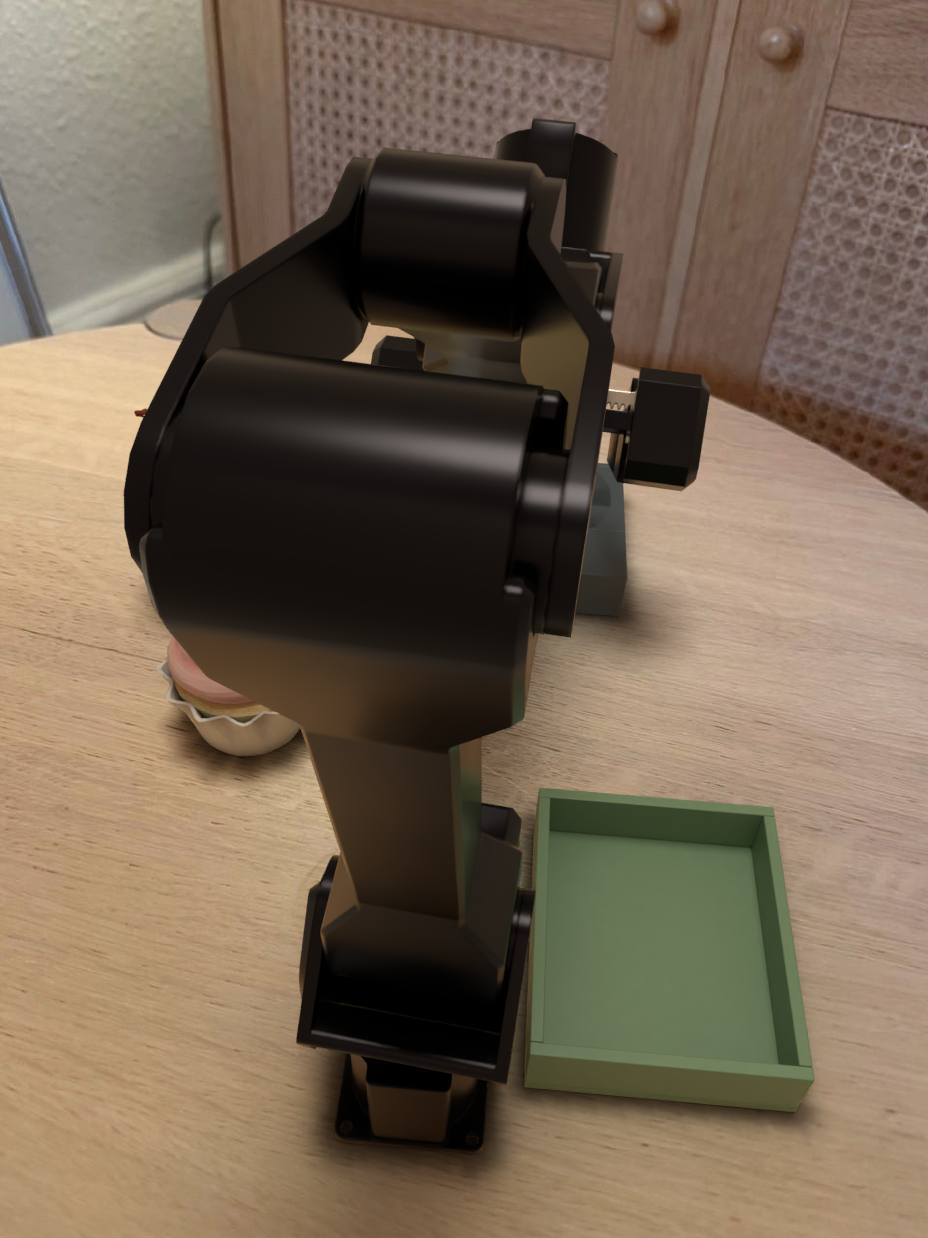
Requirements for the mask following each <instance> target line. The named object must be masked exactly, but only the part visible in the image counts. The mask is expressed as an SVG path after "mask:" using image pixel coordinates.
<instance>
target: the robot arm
mask: <svg viewBox="0 0 928 1238" xmlns="http://www.w3.org/2000/svg"><path fill="white" fill-rule="evenodd" d="M493 157H494V158H489V157H479V156H470V155H461V154H450V153H441V152H432V151H424V150H423V151H421V150H412V149H404V148H394V147H383V148H382V149H381V150H380V151H379V152H377V154H376V155H375V156H374V157H372V158H370V157H361V156H352V158H351V159H350V161H349V162H348V163H347V165H346V167H345V168H344V171H343V173H342V175H341V178H340V179H339V182H338V184H337V187H336V189H335V191H334V193H333V197H332V199H331V200H330V203H329V205H328V208H327V210H326V211H325V212H324V214H322V215H320V216H319V217H317V218H316V219H315V220H313V221H312V222H310V223H309V224H307V225H306V226H304V227H302V228H300V229H299V230H298V231H296V232H295V233H293V234H292V235H290V236H288V237H287V238H285V239H284V240H283V241H281V242H279V243H278V244H276V245H275V246H273V247H272V248H270V249H269V250H267V251H266V252H264V253H262V254H261V255H259V256H258V257H256V258H255V259H253V260H251V261H250V262H249V263H247V264H245V265H244V266H242V267H241V268H239V269H237V270H236V271H235V272H233V273H231V274H230V275H228V276H227V277H225V278H223V279H222V280H221V281H219V282H217V283H216V284H215V285H213V286H212V288H211V289H209V291H207V293H206V294H205V295H204V296H203V297H202V300H201V302H200V304H199V305H198V307H197V310H196V312H195V313H194V315H193V317H192V320H191V322H190V324H189V325H188V327H187V330H186V332H185V334H184V335H183V338H182V339H181V341H180V344H179V346H178V347H177V349H176V352H175V353H174V356H173V357H172V360H171V361H170V364H169V366H168V367H167V369H166V371H165V373H164V375H163V378H162V379H161V381H160V384H159V386H158V387H157V389H156V391H155V393H154V395H153V398H152V399H151V401H150V403H149V406H148V407H147V408H146V409H147V411H146V413H145V415H143V416H144V417H142V419H141V420H140V424H139V427H138V429H137V432H136V435H135V437H134V440H133V443H132V446H131V449H130V452H129V455H128V462H127V468H126V474H125V481H124V486H123V528H124V532H125V537H126V542H127V546H128V550H129V554H130V557H131V559H132V560H133V562H134V563H135V565H136V566H137V568H138V569H139V571H140V572H141V574H142V576H143V580H144V583H145V586H146V589H147V593H148V596H149V599H150V603H151V606H152V607H153V609H154V611H155V613H156V614H157V616H158V617H159V619H160V620H161V622H162V623H163V625H164V627H165V628H166V630H167V631H168V632H169V633H170V635H171V636H173V637H174V638H175V639H176V640H177V642H178V643H179V644H180V645H181V646H182V648H183V649H184V650H185V651H186V653H187V654H188V655H189V656H190V657H191V659H192V660H193V661H194V662H195V663H196V665H197V666H198V667H199V668H200V669H201V671H202V672H203V673H204V674H205V676H207V677H208V678H209V679H211V680H213V681H215V682H217V683H219V684H221V685H223V686H225V687H227V688H229V689H231V690H233V691H235V692H237V693H239V694H241V695H243V696H244V697H246V698H248V699H250V700H252V701H254V702H256V703H258V704H260V705H262V706H264V707H266V708H268V709H270V710H272V711H274V712H276V713H278V714H280V715H282V716H284V717H286V718H288V719H290V720H292V721H294V722H296V723H298V724H299V725H300V731H301V734H302V738H303V740H304V743H305V746H306V750H307V752H308V756H309V759H310V762H311V764H312V768H313V771H314V775H315V778H316V781H317V784H318V787H319V791H320V793H321V796H322V799H323V802H324V806H325V808H326V812H327V815H328V817H329V822H330V824H331V827H332V830H333V833H334V837H335V839H336V842H337V846H338V848H339V851H340V852H339V854H333V855H331V857H330V859H329V860H328V862H327V865H326V867H325V870H324V872H323V873H322V876H321V879H320V881H318V882H317V883H316V884H314V885H313V886H311V887H310V888H309V890H308V894H307V900H306V908H305V917H304V925H303V934H302V942H301V948H300V949H301V950H300V958H299V967H298V971H299V972H298V986H299V987H298V988H299V993H300V999H301V1002H300V1009H299V1017H298V1025H297V1030H296V1038H295V1043H296V1044H297V1045H299V1046H301V1047H303V1048H308V1049H313V1050H317V1048H318V1049H322V1050H327V1051H333V1052H338V1053H343V1054H345V1057H344V1058H345V1059H344V1064H343V1070H342V1077H341V1084H340V1089H339V1094H338V1095H339V1097H338V1104H337V1108H336V1115H335V1121H334V1134H335V1137H336V1139H337V1140H338V1141H339V1142H341V1143H345V1144H354V1145H355V1144H356V1145H365V1146H376V1147H385V1148H397V1149H407V1150H417V1151H427V1152H437V1153H438V1152H439V1153H449V1154H461V1155H471V1156H473V1155H477V1154H479V1153H480V1152H481V1151H482V1150H483V1148H484V1143H485V1131H486V1116H487V1114H486V1113H487V1100H488V1099H487V1098H488V1084H489V1082H492V1083H493V1084H494V1085H495V1086H496V1085H498V1086H501V1087H507V1085H508V1080H509V1074H510V1073H509V1072H510V1067H511V1060H512V1053H513V1047H514V1041H515V1034H516V1029H517V1021H518V1014H519V1009H520V1008H519V1007H520V1002H521V995H522V988H523V981H524V975H525V968H526V961H527V954H528V949H529V941H530V928H531V921H532V915H533V908H534V901H535V895H536V890H533V889H532V888H526V887H521V880H522V873H523V861H524V860H523V857H524V854H523V852H522V850H521V831H522V823H523V819H522V817H521V816H520V815H519V813H518V812H517V811H516V810H515V808H514V807H510V806H504V805H498V804H493V803H487V802H483V799H482V798H483V797H482V796H483V795H482V793H483V781H482V780H483V755H482V754H483V738H484V737H487V736H490V735H493V734H495V733H499V732H501V731H504V730H505V731H506V730H508V729H511V728H512V727H514V726H515V725H517V724H519V723H520V722H522V721H524V718H525V715H526V710H527V704H528V698H529V693H530V686H531V681H532V675H533V669H534V664H535V658H536V653H537V652H536V651H537V646H538V639H539V636H540V635H547V636H555V637H560V638H568V639H572V635H573V631H574V624H575V617H576V613H575V611H576V604H577V598H578V591H579V585H580V578H581V572H582V565H583V559H584V552H585V546H586V539H587V533H588V526H589V520H590V513H591V507H592V500H593V494H594V487H595V481H596V474H597V467H598V463H599V461H600V460H599V459H600V452H601V446H602V439H603V433H608V434H610V435H609V436H610V438H609V442H608V443H609V444H608V450H607V455H606V462H607V464H609V466H610V469H611V471H612V473H613V475H614V477H615V479H616V481H617V482H618V483H623V484H627V485H633V486H639V487H646V488H654V489H662V490H668V491H676V492H683V491H684V490H686V489H687V488H688V487H690V486H691V485H693V483H695V481H696V480H697V478H698V472H699V468H700V463H701V457H702V448H703V442H704V435H705V429H706V423H707V416H708V411H709V410H708V409H709V403H710V397H711V385H710V384H709V383H708V381H707V380H706V378H705V377H704V375H703V374H700V373H693V372H686V371H685V372H683V371H678V370H677V371H675V370H669V369H662V368H661V369H660V368H651V367H644V366H640V367H639V373H638V377H632V379H631V382H630V386H629V390H619V389H611V388H610V384H611V377H612V370H613V364H614V357H615V350H616V345H615V341H614V337H613V333H612V331H613V326H614V319H615V313H616V306H617V300H618V294H619V287H620V280H621V274H622V266H623V259H624V253H623V252H614V251H606V250H605V249H606V244H607V243H606V242H607V237H608V236H607V235H608V229H609V224H610V223H609V222H610V217H611V211H612V210H611V209H612V201H613V196H614V189H615V184H616V177H617V171H618V165H619V164H618V163H619V155H618V153H617V152H615V151H613V150H611V149H610V148H609V147H608V146H607V145H606V144H604V143H602V142H601V141H599V140H597V139H596V138H593V137H590V136H588V135H584V134H582V133H579V132H577V122H576V121H569V120H560V119H559V120H558V119H549V118H537V117H533V118H532V120H531V125H530V128H526V129H521V130H516V131H513V132H511V133H507V134H505V135H504V136H503V137H502V138H500V139H499V140H497V141H496V144H495V150H494V156H493ZM369 324H370V325H371V326H379V327H386V328H392V329H393V328H394V329H398V330H401V331H402V332H404V333H406V334H408V335H409V336H411V337H403V336H396V335H389V334H387V335H384V337H382V338H381V339H380V341H379V342H378V343H376V344H375V346H374V349H373V350H372V354H371V361H370V363H366V362H359V361H358V362H357V361H351V360H345V359H346V358H348V357H349V356H351V355H352V354H353V353H355V352H356V350H357V349H358V347H359V346H360V345H361V344H362V342H363V340H364V337H365V336H366V335H365V334H366V332H367V329H368V326H369ZM608 405H609V408H608V409H607V406H608ZM615 405H616V408H617V409H614V407H615ZM622 407H623V410H621V408H622ZM344 1126H350V1128H351V1129H350V1130H349V1132H343V1131H342V1128H343V1127H344ZM471 1137H473V1138H475V1139H476V1141H477V1142H476V1143H475V1144H473V1145H472V1144H470V1143H469V1142H468V1139H469V1138H471Z"/></svg>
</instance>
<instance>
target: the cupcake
mask: <svg viewBox="0 0 928 1238" xmlns="http://www.w3.org/2000/svg"><path fill="white" fill-rule="evenodd" d="M166 648H167V649H166V658H165V659H163V660H162V661H161V662H160V663H159V664H158V665H157V667H156V668H155V670H156V671H157V673H158V674H159V675H160V676H161V677H162V678H163V679H164V680H165V681H166V682H167V683H168V687H167V690H166V693H165V700H166V701H167V702H168V703H170V704H171V705H173V706H174V707H176V708H177V709H179V710H181V711H182V712H184V713H185V714H186V715H187V717H188V718H189V720H190V721H191V722H192V723H193V725H194V727H195V728H196V729H197V731H198V732H199V735H200V736H201V737H202V738H203V739H204V741H206V742H207V743H208V744H209V745H210V746H211V747H213V748H214V749H216V750H218V751H221V752H222V753H225V754H229V755H231V756H237V757H255V756H261V755H267V754H269V753H271V752H273V751H276V750H278V749H280V748H281V747H284V746H285V745H287V744H288V743H289V742H291V740H292V739H294V737H295V736H297V734H298V732H299V731H300V730H301V728H300V725H299V724H298V723H296V722H294V721H292V720H290V719H288V718H286V717H284V716H282V715H280V714H278V713H276V712H274V711H272V710H270V709H268V708H266V707H264V706H262V705H260V704H258V703H256V702H254V701H252V700H250V699H248V698H246V697H244V696H243V695H241V694H239V693H237V692H235V691H233V690H231V689H229V688H227V687H225V686H223V685H221V684H219V683H217V682H215V681H213V680H211V679H209V678H208V677H207V676H205V674H204V673H203V672H202V671H201V669H200V668H199V667H198V666H197V665H196V663H195V662H194V661H193V660H192V659H191V657H190V656H189V655H188V654H187V653H186V651H185V650H184V649H183V648H182V646H181V645H180V644H179V643H178V642H177V640H176V639H175V638H174V637H173V636H172V635H171V636H169V639H168V645H167V647H166Z"/></svg>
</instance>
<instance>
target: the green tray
mask: <svg viewBox="0 0 928 1238" xmlns="http://www.w3.org/2000/svg"><path fill="white" fill-rule="evenodd" d="M537 793H538V794H537V801H536V809H535V815H534V823H533V840H532V841H533V844H532V867H531V871H532V872H531V889H533V890H536V895H535V901H534V908H533V915H532V921H531V928H530V935H529V942H528V967H527V969H528V970H527V972H528V973H527V993H526V994H527V995H526V1021H525V1024H526V1025H525V1046H524V1047H525V1049H524V1071H523V1073H524V1074H523V1087H524V1088H531V1089H539V1090H549V1091H550V1090H551V1091H562V1092H572V1093H584V1094H593V1095H594V1094H595V1095H604V1096H615V1097H616V1096H617V1097H626V1098H635V1099H636V1098H637V1099H647V1100H656V1101H657V1100H659V1101H669V1102H680V1103H690V1104H691V1103H692V1104H702V1105H712V1106H723V1107H733V1108H734V1107H735V1108H745V1109H753V1110H755V1109H756V1110H766V1111H775V1112H776V1111H777V1112H789V1113H796V1112H797V1110H798V1108H799V1107H800V1105H801V1103H802V1102H803V1100H804V1098H805V1097H806V1095H807V1094H808V1092H809V1090H810V1088H811V1087H812V1086H813V1084H814V1082H815V1080H816V1079H815V1073H814V1072H815V1071H814V1067H813V1065H814V1064H813V1060H812V1059H813V1058H812V1053H811V1052H812V1051H811V1045H810V1038H809V1033H808V1026H807V1020H806V1013H805V1007H804V1001H803V999H804V998H803V993H802V988H801V987H802V986H801V979H800V974H799V967H798V960H797V953H796V947H795V940H794V934H793V927H792V922H791V914H790V908H789V902H788V894H787V887H786V881H785V874H784V868H783V862H782V861H783V860H782V855H781V848H780V847H781V846H780V842H779V834H778V828H777V821H776V815H775V809H774V807H773V806H767V805H766V806H763V805H752V804H740V803H731V802H730V803H729V802H718V801H717V802H716V801H705V800H694V799H693V800H692V799H679V798H668V797H655V796H645V795H633V794H632V795H631V794H619V793H609V792H597V791H586V790H575V789H574V790H572V789H563V788H562V789H561V788H550V787H539V788H538V792H537Z"/></svg>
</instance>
